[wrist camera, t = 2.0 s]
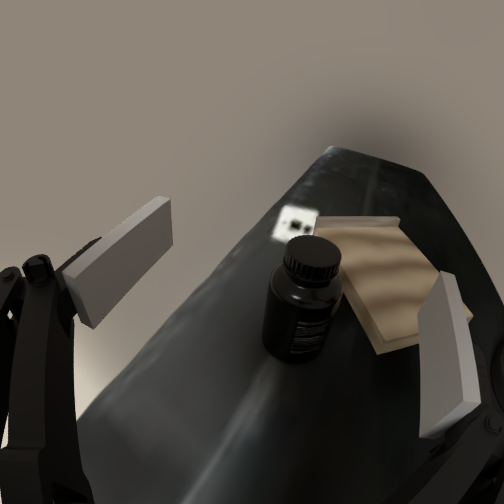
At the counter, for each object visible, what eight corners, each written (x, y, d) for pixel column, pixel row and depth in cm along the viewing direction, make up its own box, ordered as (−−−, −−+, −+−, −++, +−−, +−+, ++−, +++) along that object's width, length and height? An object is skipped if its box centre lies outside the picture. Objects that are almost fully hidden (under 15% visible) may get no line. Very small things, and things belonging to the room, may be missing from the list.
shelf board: (464, 328, 34) (478, 307, 31) (377, 354, 31) (390, 332, 28) (390, 234, 52) (396, 215, 50) (311, 237, 49) (315, 215, 47)
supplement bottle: (328, 327, 34) (359, 241, 27) (314, 374, 28) (349, 287, 21) (273, 309, 36) (288, 220, 28) (250, 352, 30) (262, 260, 23)
